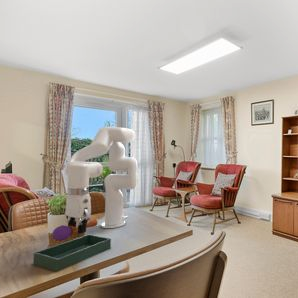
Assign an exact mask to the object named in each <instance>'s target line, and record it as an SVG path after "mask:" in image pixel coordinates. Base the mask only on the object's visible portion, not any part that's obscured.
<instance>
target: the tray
mask: <svg viewBox="0 0 298 298" xmlns="http://www.w3.org/2000/svg"><path fill="white" fill-rule="evenodd" d="M111 243H112V239H111V238H109V237H105V236H99V235H95V234H91V233H89V234H86V235H83V236H80V237H77V238H74V239H71V240H68V241H65V242H62V243H60V244H56V245H54V246H53V245H52V246H50V247H47V248H44V249H41V250H39V251H35V252H33V264H32V265H34V266H36V267H37V266H38V267H40V268H43V269H47V270H51V271H54V272H59V271H62V270H64V269H66V268H69V267H71V266H73V265H76V264H78V263H81V262H82V261H84V260H87V259H89V258H92V257H94V256H96V255H99V254H101V253H103V252H105V251H107V250H110V249H111V245H112V244H111Z"/></svg>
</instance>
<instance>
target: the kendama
mask: <svg viewBox="0 0 298 298" xmlns="http://www.w3.org/2000/svg"><path fill="white" fill-rule="evenodd" d="M97 225H98V220H97V219H95V218H94V219H91V220H89V221H88V222H87V223H86V229H88V228H92V227H96V226H97ZM76 231H78V226H76V227H73V226H68V225H64V224H63V225H59V226H57V227H55V228H54V229H53V231H52V235H51V237H52V238H53V239H54V240H55V241H56V242H57V241H59V242H62V241H65V240H67V239H68V238H69V237H70V236H72V235H73V234H74V233H75V232H76Z"/></svg>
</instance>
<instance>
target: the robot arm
mask: <svg viewBox="0 0 298 298" xmlns="http://www.w3.org/2000/svg"><path fill="white" fill-rule="evenodd" d="M135 137H136V134H135V131H134V130H133V129H131V128H126V127H121V126H120V127H119V126H102V127H101V128H99V129H98V131H97V133H96V134H95V136H94V138H93V140H92V141H91V143H90V144H89V145H86V146H85V147H82V148H80V149H79V150H77V151H75V152H74V153H73V155H71V157H70V158H69V160H68V162H67V163H66V166H65V174H66V175H67V191H66V192H67V193H66V194H67V195H66V202H65V211H64V215H65V218H66V219H67V220H66V222H67V226H73V227H78V230H77V234H78V235H82V234H84V233H86V232H87V228H86V223H87V222H89V221H90V219H92V204H91V195H90V194H89V193H90V189H89V188H90V179H91V178H92V179H93V178H94V179H95V178H98V177H100V176H101V175H102V174H103V172H104V167H103V165H102V164H101V163H100V162H97V161H89V160H91V159H95V158H98V157H101V156H104V155H106V154H109V155H108V169H109V171H110V172H113V173H111V174H108V175H106V176H105V178H104V183H103V184H104V189H105V202H104V203H105V204H104V222H102V223H101V225H100V226H101V228H103V229H116V228H120V227H123V226H125V225H126V221H125V220H127V219H129V217H130V216H129V215H124V213H123V212H124V194H123V192H122V191H121V190H123V191H125V190H130V191H131V190H134V189H135V188H136V187H137V181H138V160H137V159H136V158H135V157H133V156H126V148H125V146H124V143H125V144H130V143H132V142H134V140H135ZM114 172H115V173H114ZM76 219H77V220H78V225H77V220H76Z"/></svg>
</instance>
